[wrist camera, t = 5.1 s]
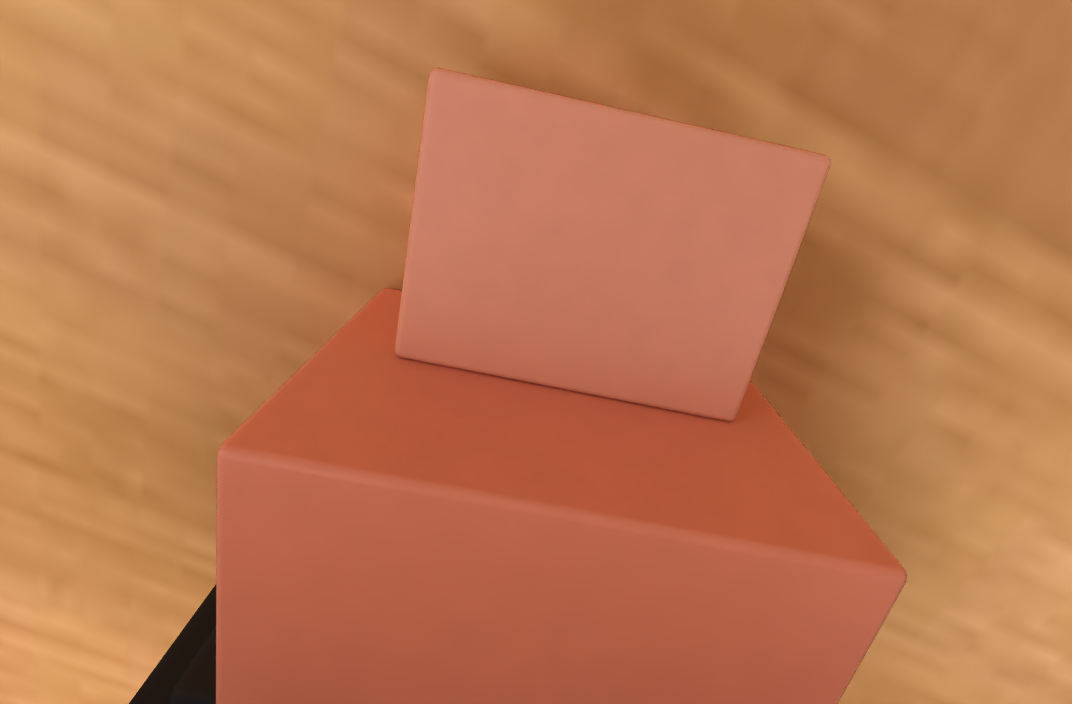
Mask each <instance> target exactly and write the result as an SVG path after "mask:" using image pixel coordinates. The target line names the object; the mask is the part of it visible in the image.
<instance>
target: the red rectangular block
mask: <svg viewBox="0 0 1072 704" xmlns="http://www.w3.org/2000/svg"><path fill="white" fill-rule="evenodd" d="M830 162H831V160H830V159H829V158H828V157H827V156H826V155H824V154H819V153H815V152H810V151H806V150H801V149H797V148H793V147H788V146H784V145H779V144H775V143H770V142H766V141H761V140H757V139H753V138H748V137H744V136H739V135H735V134H730V133H726V132H721V131H717V130H713V129H708V128H704V127H699V126H695V125H690V124H686V123H682V122H677V121H673V120H668V119H664V118H659V117H655V116H650V115H646V114H642V113H637V112H633V111H628V110H624V109H619V108H615V107H610V106H606V105H602V104H597V103H593V102H588V101H584V100H579V99H575V98H571V97H566V96H562V95H557V94H553V93H548V92H544V91H539V90H535V89H531V88H526V87H522V86H517V85H513V84H508V83H504V82H500V81H495V80H491V79H486V78H482V77H477V76H473V75H468V74H464V73H460V72H455V71H451V70H446V69H442V68H436V69H432V71H431V73H430V74H429V78H428V86H427V94H426V102H425V110H424V118H423V126H422V134H421V142H420V150H419V158H418V166H417V174H416V182H415V190H414V198H413V206H412V214H411V222H410V230H409V238H408V246H407V254H406V262H405V270H404V278H403V286H402V291H399V290H394V289H389V288H385V289H382V290H381V291H380V292H379V293H378V294H377V295H376V296H375V297H374V298H373V299H372V300H371V301H370V302H369V303H368V304H367V305H366V306H365V307H364V308H363V309H362V310H360V311H359V312H358V313H357V314H356V315H355V316H354V317H353V318H352V319H351V320H350V321H349V322H348V323H347V324H346V325H345V326H344V327H343V328H342V329H341V330H340V331H339V332H338V333H337V334H336V335H334V336H333V337H332V338H331V339H330V340H329V341H328V342H327V343H326V344H325V345H324V346H323V347H322V348H321V349H320V350H319V351H318V352H317V353H316V354H315V355H314V356H313V357H312V358H311V359H310V360H309V361H307V362H306V363H305V364H304V365H303V366H302V367H301V368H300V369H299V370H298V371H297V372H296V373H295V374H294V375H293V376H292V377H291V378H290V379H289V380H288V381H287V382H286V383H285V384H284V385H283V386H281V387H280V388H279V389H278V390H277V391H276V392H275V393H274V394H273V395H272V396H271V397H270V398H269V399H268V400H267V401H266V402H265V403H264V404H263V405H262V406H261V407H260V408H259V409H258V410H257V411H255V412H254V413H253V414H252V415H251V416H250V417H249V418H248V419H247V420H246V421H245V422H244V423H243V424H242V425H241V426H240V427H239V428H238V429H237V430H236V431H235V432H234V433H233V434H232V435H231V436H230V437H228V438H227V439H226V440H225V441H224V442H223V443H222V444H221V446H220V448H219V450H218V453H217V570H216V704H838V702H839V700H840V699H841V697H842V695H843V693H844V691H845V690H846V688H847V686H848V684H849V683H850V681H851V679H852V677H853V675H854V674H855V672H856V670H857V668H858V666H859V665H860V663H861V661H862V659H863V658H864V656H865V654H866V652H867V650H868V649H869V647H870V645H871V643H872V642H873V640H874V638H875V636H876V634H877V633H878V631H879V629H880V627H881V625H882V624H883V622H884V620H885V618H886V617H887V615H888V613H889V611H890V609H891V608H892V606H893V604H894V602H895V601H896V599H897V597H898V595H899V593H900V592H901V590H902V588H903V586H904V584H905V583H906V577H907V575H906V571H905V569H904V568H903V567H902V565H901V564H900V563H899V562H898V561H897V559H896V558H895V557H894V556H893V554H892V553H891V552H890V551H889V550H888V548H887V547H886V546H885V545H884V543H883V542H882V541H881V540H880V539H879V537H878V536H877V535H876V534H875V532H874V531H873V530H872V529H871V527H870V526H869V525H868V524H867V523H866V521H865V520H864V519H863V518H862V516H861V515H860V514H859V513H858V512H857V510H856V509H855V508H854V507H853V505H852V504H851V503H850V502H849V501H848V499H847V498H846V497H845V496H844V494H843V493H842V492H841V491H840V490H839V488H838V487H837V486H836V485H835V483H834V482H833V481H832V480H831V479H830V477H829V476H828V475H827V474H826V472H825V471H824V470H823V469H822V467H821V466H820V465H819V464H818V463H817V461H816V460H815V459H814V458H813V456H812V455H811V454H810V453H809V452H808V450H807V449H806V448H805V447H804V445H803V444H802V443H801V442H800V441H799V439H798V438H797V437H796V436H795V434H794V433H793V432H792V431H791V430H790V428H789V427H788V426H787V425H786V423H785V422H784V421H783V420H782V419H781V417H780V416H779V415H778V414H777V412H776V411H775V410H774V409H773V407H772V406H771V405H770V404H769V403H768V401H767V400H766V399H765V398H764V396H763V395H762V394H761V393H760V392H759V390H758V389H757V388H756V387H755V385H754V384H753V383H752V382H751V381H750V379H751V376H752V373H753V371H754V368H755V365H756V363H757V360H758V357H759V355H760V352H761V349H762V347H763V344H764V341H765V339H766V336H767V333H768V331H769V328H770V325H771V323H772V320H773V317H774V315H775V312H776V309H777V307H778V304H779V301H780V299H781V296H782V293H783V291H784V288H785V285H786V283H787V280H788V277H789V275H790V272H791V269H792V267H793V264H794V261H795V258H796V256H797V253H798V250H799V248H800V245H801V242H802V240H803V237H804V234H805V232H806V229H807V226H808V224H809V221H810V218H811V216H812V213H813V210H814V208H815V205H816V202H817V200H818V197H819V194H820V192H821V189H822V186H823V184H824V181H825V178H826V176H827V173H828V170H829V168H830Z"/></svg>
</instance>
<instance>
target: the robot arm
mask: <svg viewBox="0 0 1072 704" xmlns="http://www.w3.org/2000/svg"><path fill="white" fill-rule="evenodd" d="M129 704H216V585H215V586H214V588H213V589H212V591H211V592H210V593H209V595H208V596H207V597H206V599H205V600H204V602H203V603H202V604H201V606H200V607H199V608H198V610H197V611H196V612H195V614H194V615H193V617H192V618H191V619H190V621H189V622H188V623H187V625H186V626H185V628H184V629H183V630H182V632H181V633H180V634H179V636H178V637H177V639H176V640H175V641H174V643H173V644H172V645H171V647H170V648H169V649H168V651H167V652H166V654H165V655H164V656H163V658H162V659H161V660H160V662H159V663H158V665H157V666H156V667H155V669H154V670H153V671H152V673H151V674H150V676H149V677H148V678H147V680H146V681H145V682H144V684H143V685H142V687H141V688H140V689H139V691H138V692H137V693H136V695H135V696H134V697H133V699H132V700H131V702H130V703H129Z"/></svg>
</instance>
